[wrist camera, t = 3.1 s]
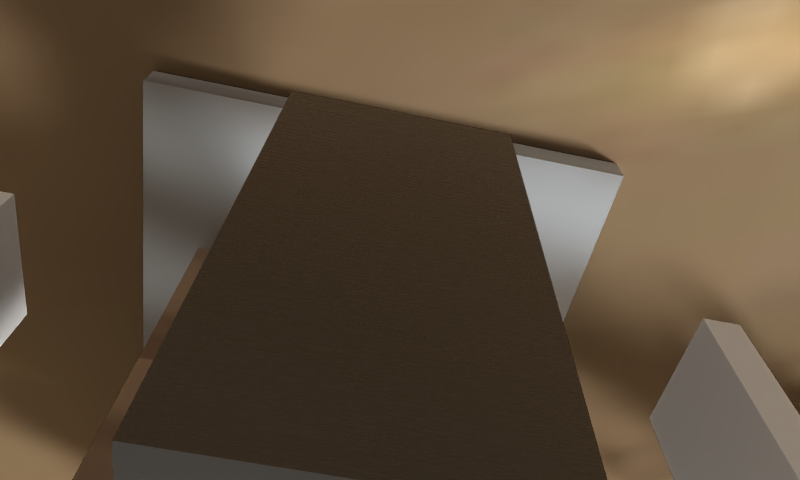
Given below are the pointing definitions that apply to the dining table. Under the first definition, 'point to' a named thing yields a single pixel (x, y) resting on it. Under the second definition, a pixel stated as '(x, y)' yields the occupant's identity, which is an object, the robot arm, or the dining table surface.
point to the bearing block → (227, 172)
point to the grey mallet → (367, 319)
